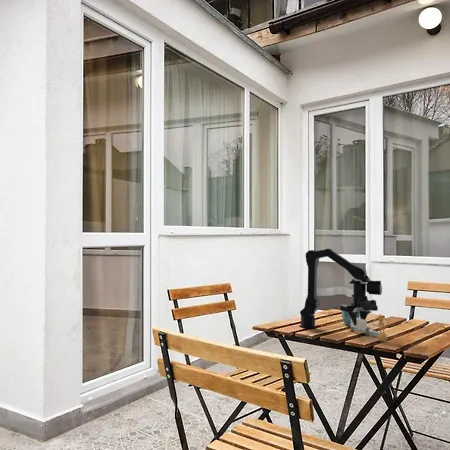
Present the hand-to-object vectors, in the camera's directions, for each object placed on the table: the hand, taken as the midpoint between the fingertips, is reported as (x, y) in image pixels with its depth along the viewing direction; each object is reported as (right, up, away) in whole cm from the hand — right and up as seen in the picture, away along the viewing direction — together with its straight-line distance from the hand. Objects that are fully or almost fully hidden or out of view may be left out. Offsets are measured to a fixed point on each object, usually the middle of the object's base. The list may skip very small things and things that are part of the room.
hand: (358, 325), depth 229 cm
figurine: (+5, -4, -19) cm, 20 cm away
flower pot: (+2, -5, +22) cm, 23 cm away
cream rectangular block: (0, -1, 0) cm, 1 cm away
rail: (+2, -4, +1) cm, 5 cm away
